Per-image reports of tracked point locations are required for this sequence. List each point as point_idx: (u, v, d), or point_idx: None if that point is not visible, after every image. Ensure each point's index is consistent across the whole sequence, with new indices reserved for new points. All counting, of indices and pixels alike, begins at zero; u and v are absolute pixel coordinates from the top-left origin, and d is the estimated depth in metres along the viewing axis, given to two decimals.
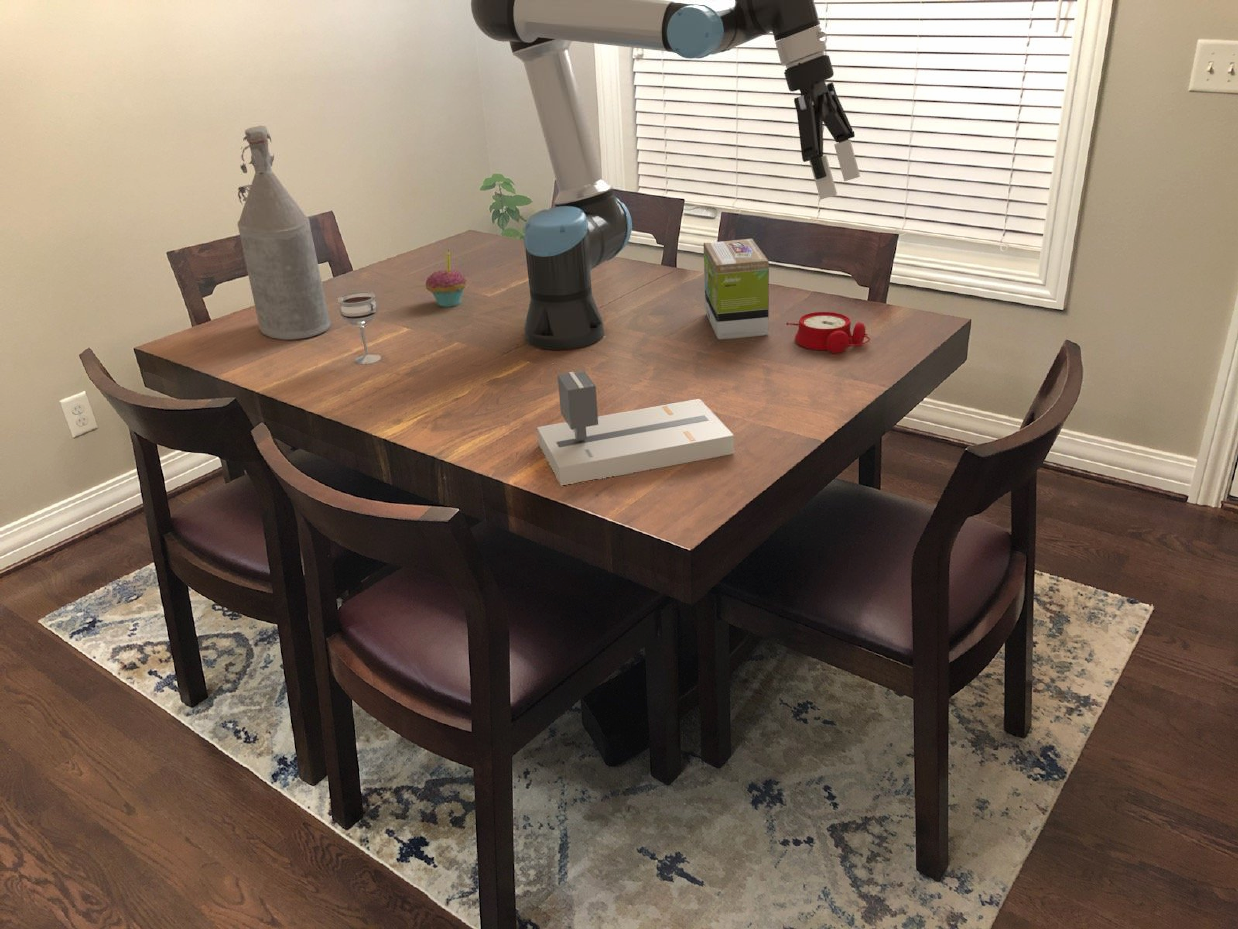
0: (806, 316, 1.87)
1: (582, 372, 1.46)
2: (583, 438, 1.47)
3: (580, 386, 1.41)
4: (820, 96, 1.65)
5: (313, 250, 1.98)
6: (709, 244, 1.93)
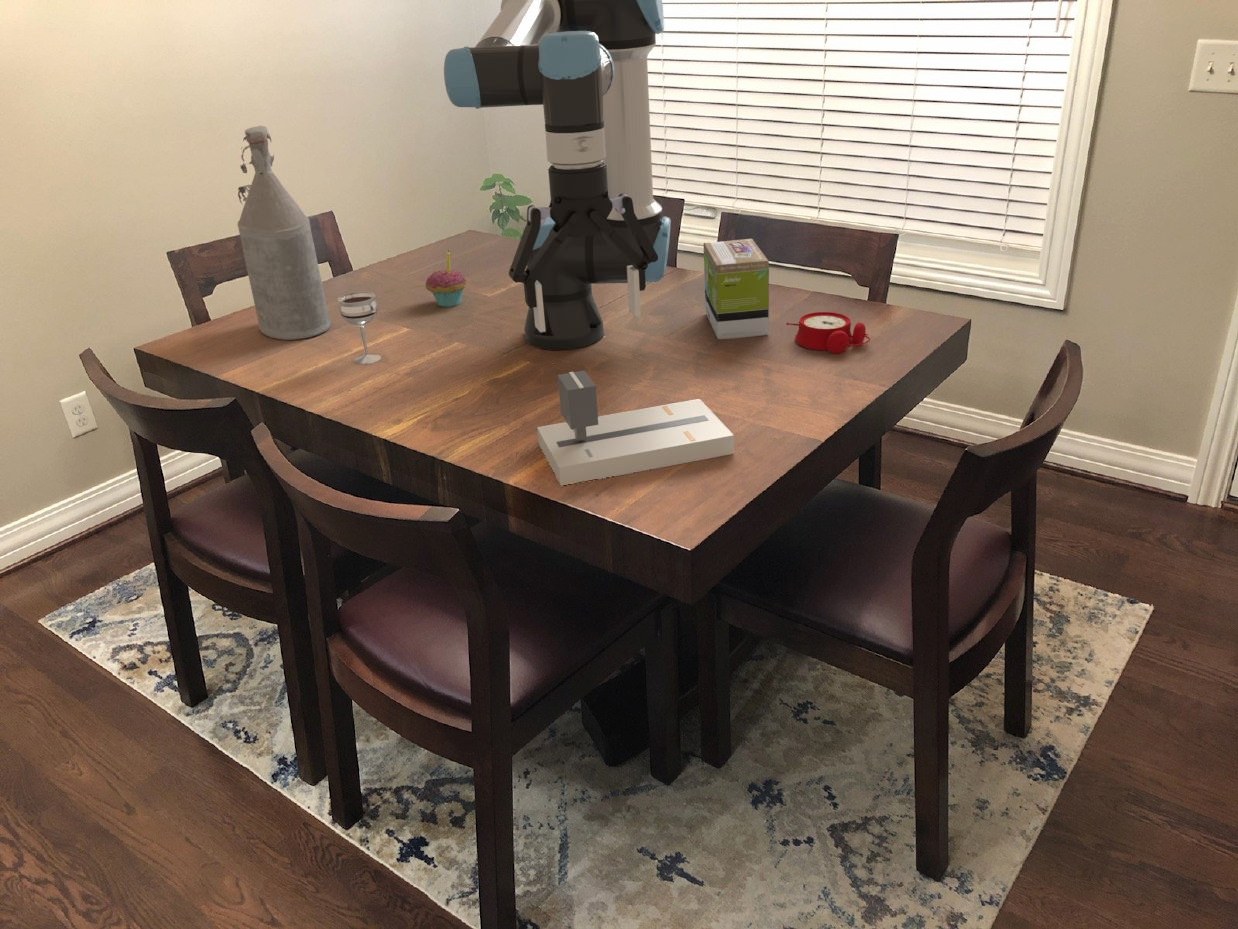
0: (806, 316, 1.87)
1: (582, 372, 1.46)
2: (583, 438, 1.47)
3: (580, 386, 1.41)
4: (570, 214, 1.31)
5: (313, 250, 1.98)
6: (709, 244, 1.93)
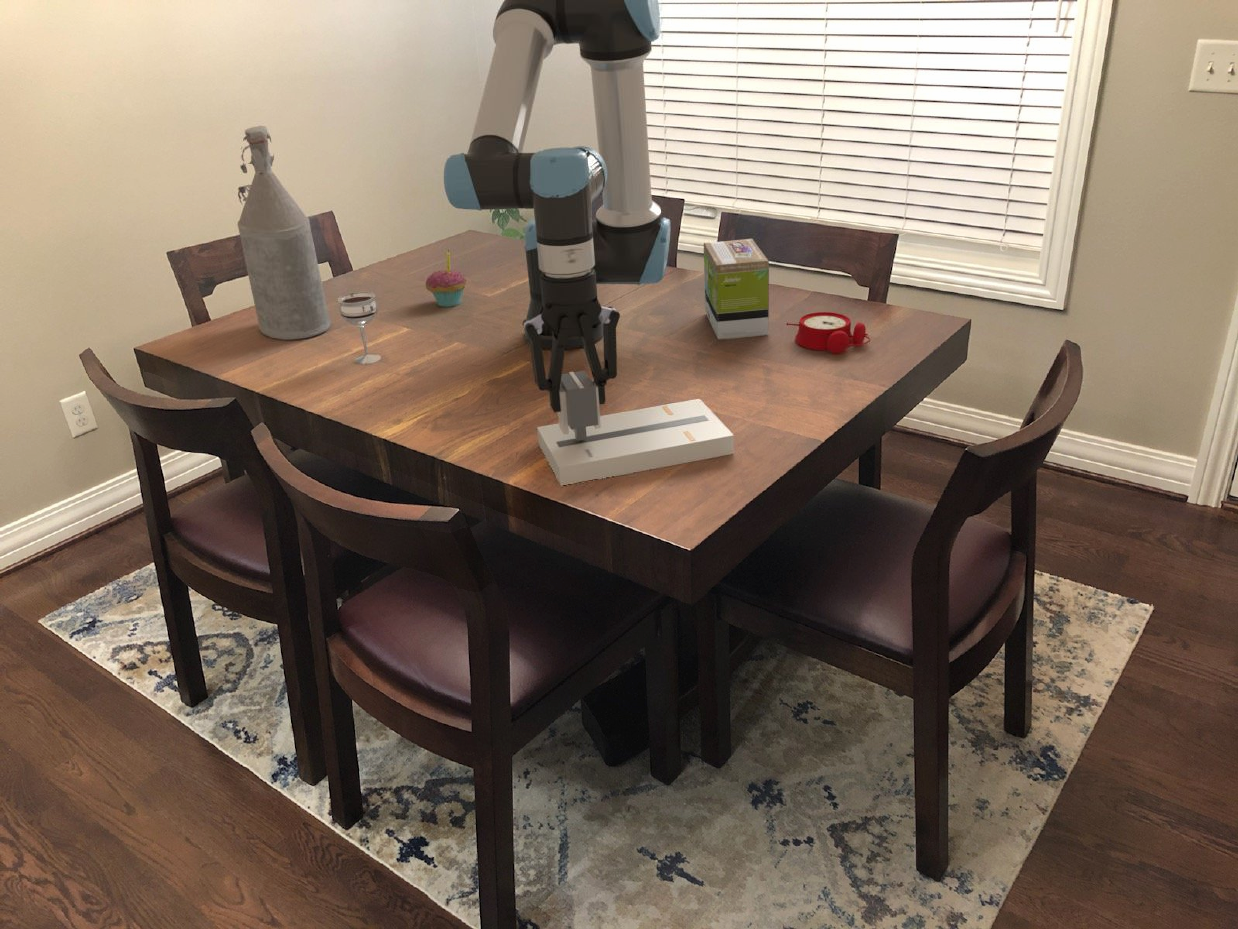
0: (806, 316, 1.87)
1: (582, 372, 1.46)
2: (583, 438, 1.47)
3: (580, 386, 1.41)
4: (560, 320, 1.37)
5: (313, 250, 1.98)
6: (709, 244, 1.93)
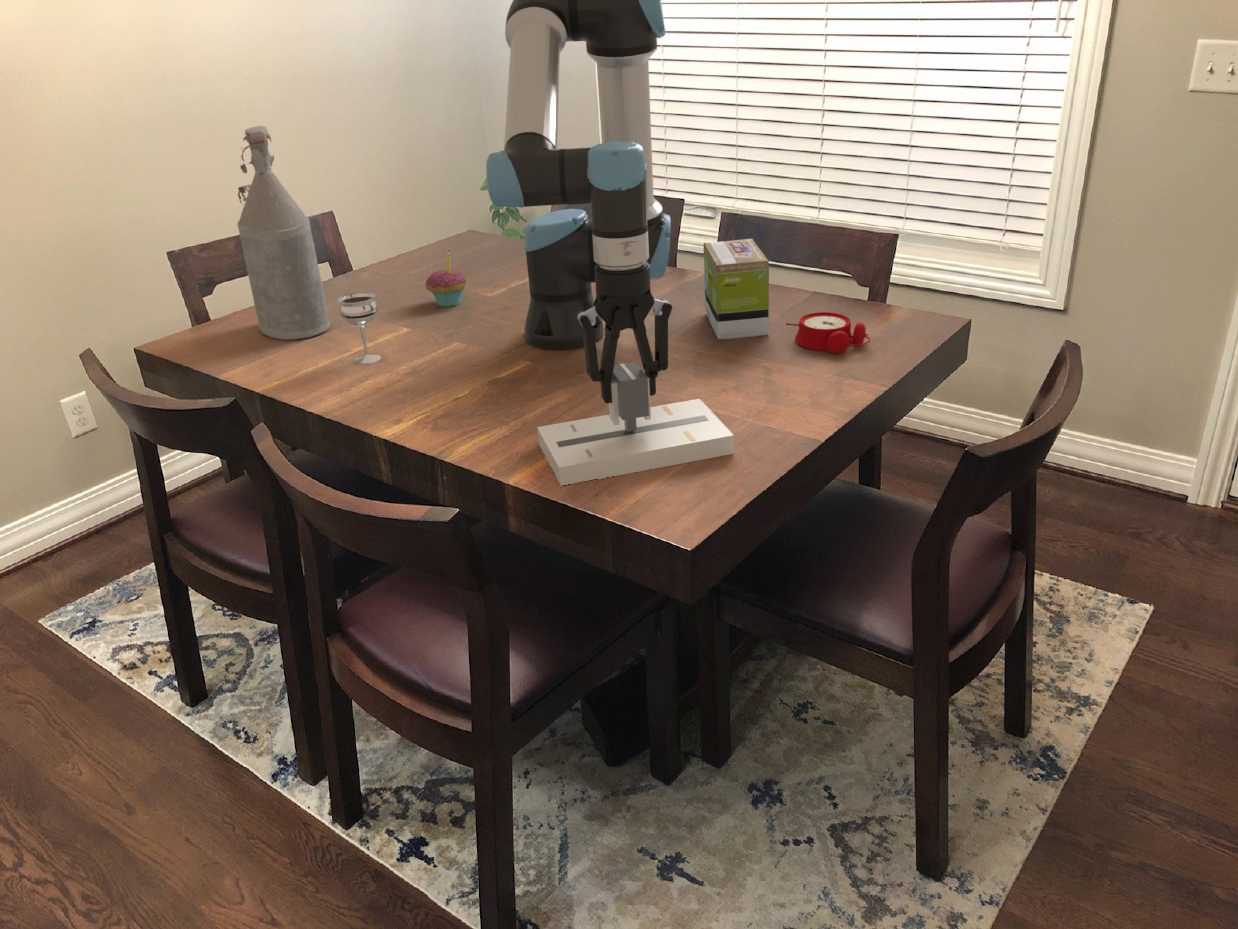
0: (806, 316, 1.87)
1: (632, 364, 1.47)
2: (633, 429, 1.49)
3: (632, 377, 1.43)
4: (614, 312, 1.39)
5: (313, 250, 1.98)
6: (709, 244, 1.93)
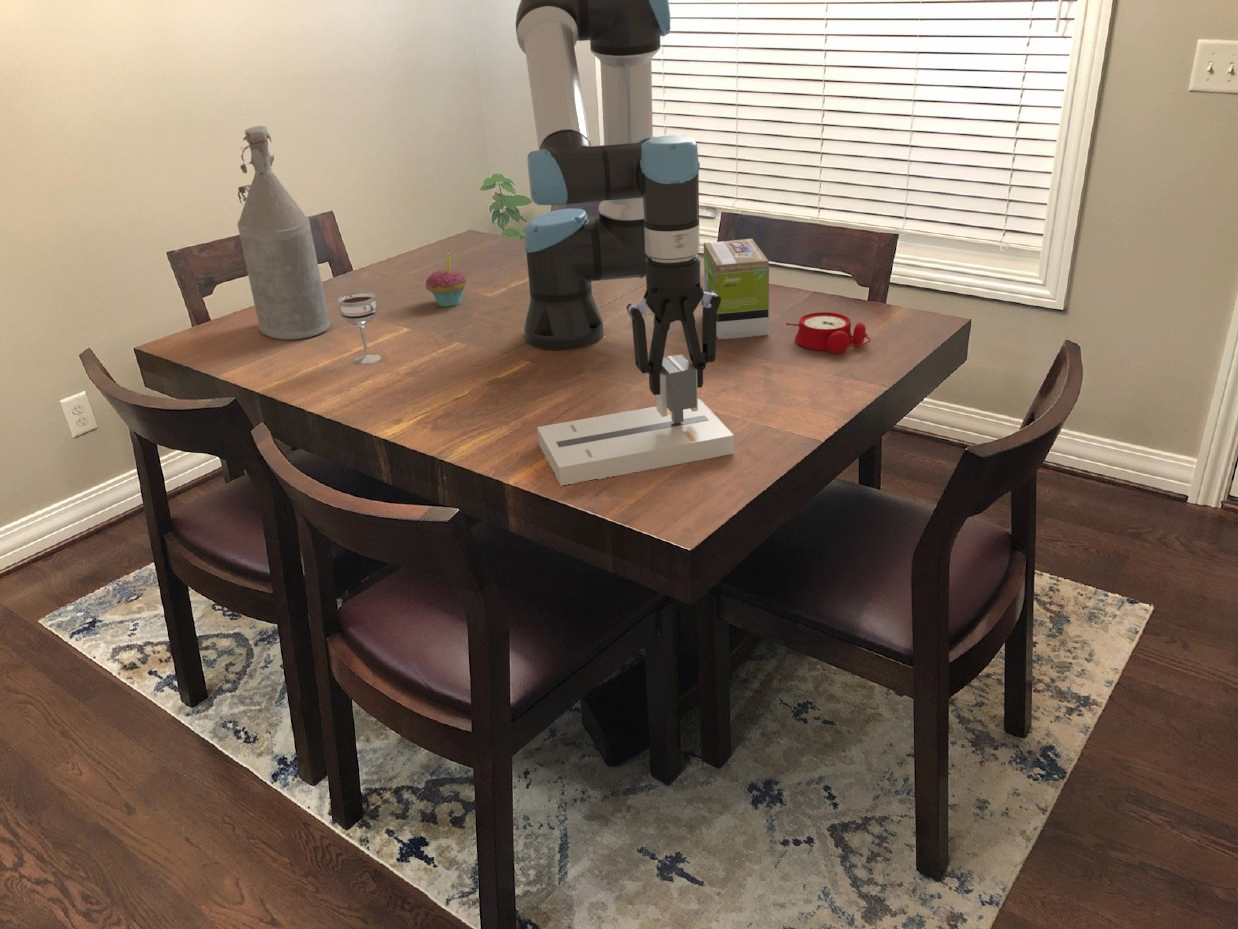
0: (806, 316, 1.87)
1: (679, 356, 1.49)
2: (680, 421, 1.50)
3: (681, 369, 1.44)
4: (664, 304, 1.41)
5: (313, 250, 1.98)
6: (709, 244, 1.93)
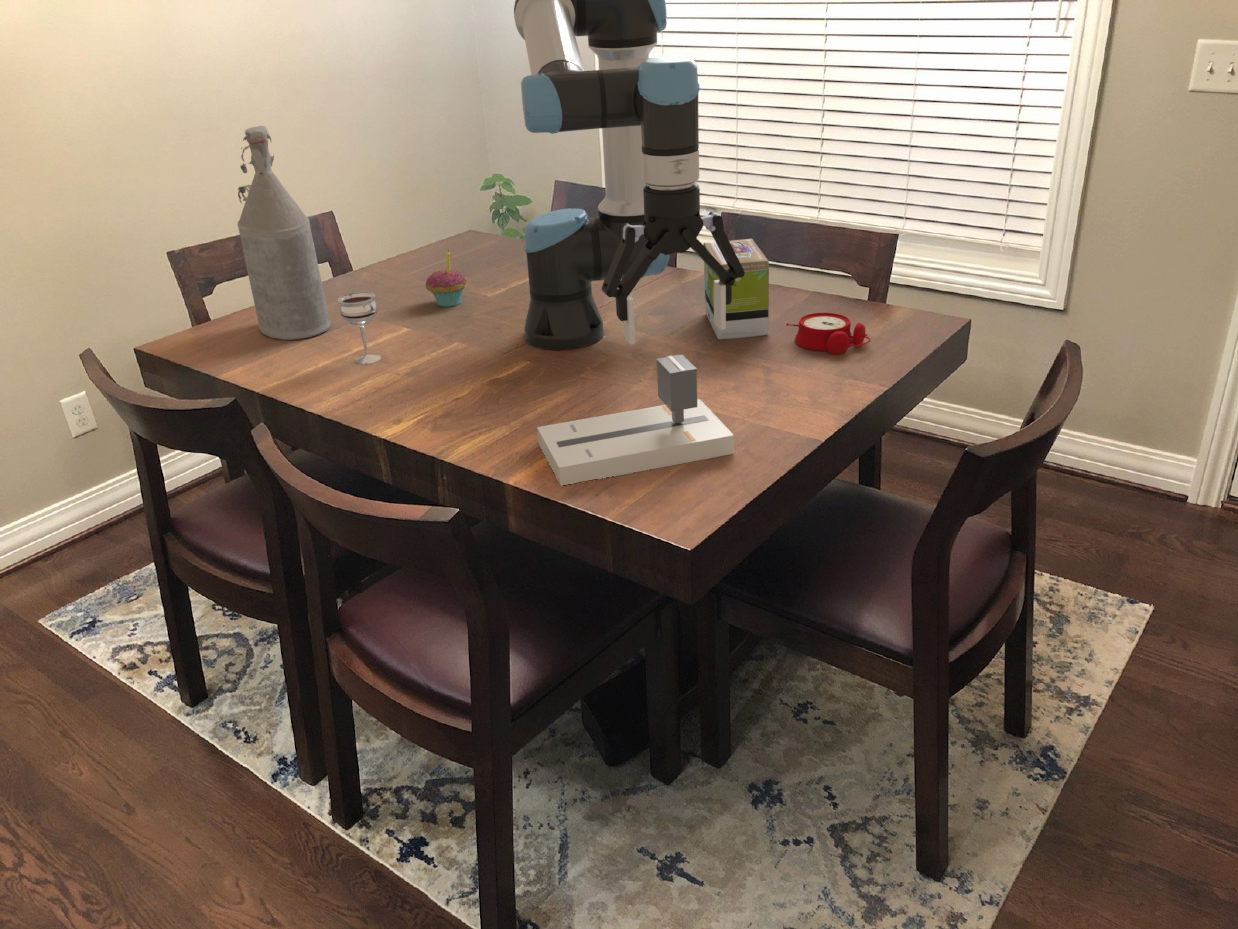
0: (806, 317, 1.87)
1: (680, 356, 1.49)
2: (680, 420, 1.50)
3: (682, 369, 1.44)
4: (663, 232, 1.36)
5: (313, 250, 1.98)
6: (709, 244, 1.93)
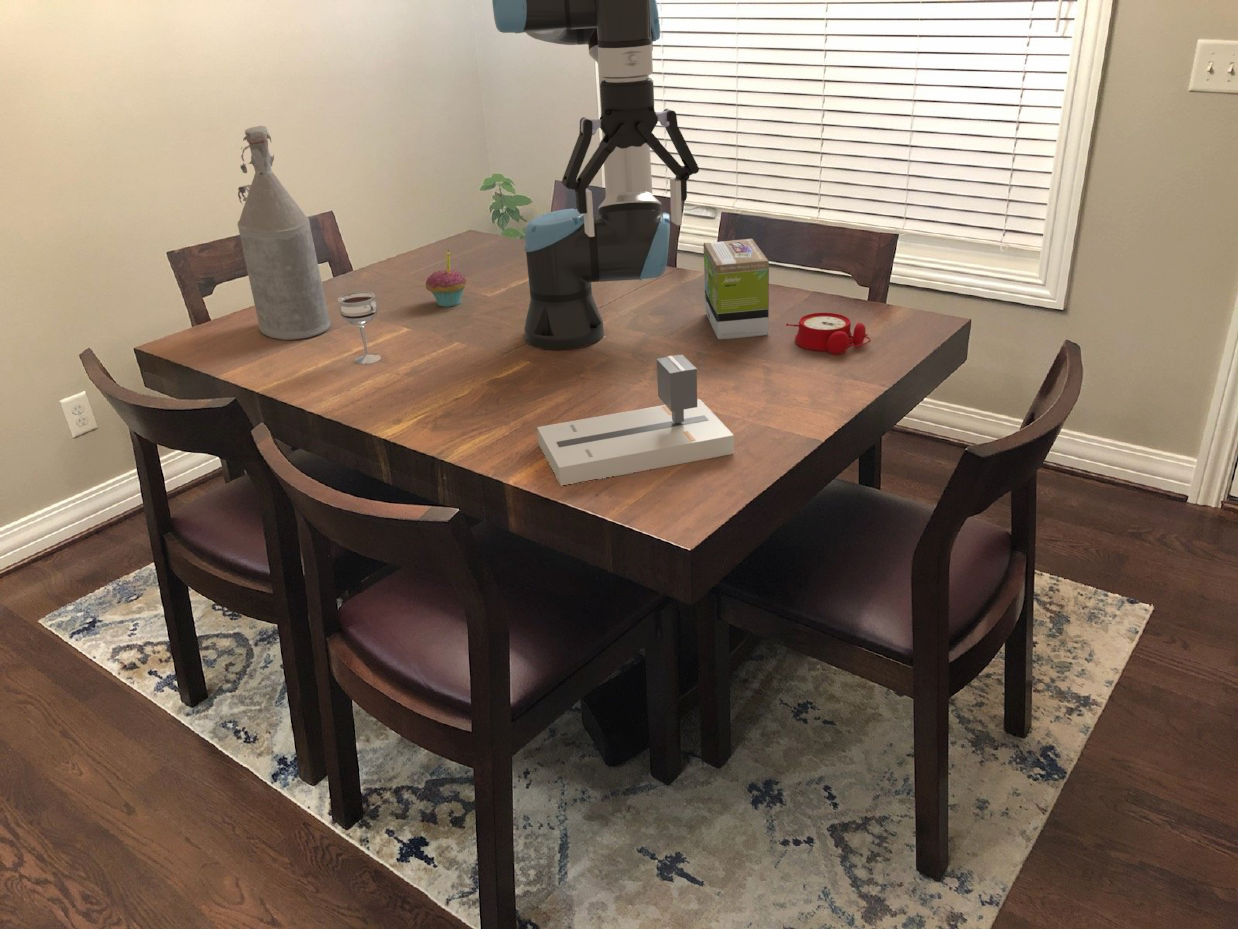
0: (806, 317, 1.87)
1: (680, 356, 1.49)
2: (680, 420, 1.50)
3: (682, 369, 1.44)
4: (619, 125, 1.43)
5: (313, 250, 1.98)
6: (709, 244, 1.93)
